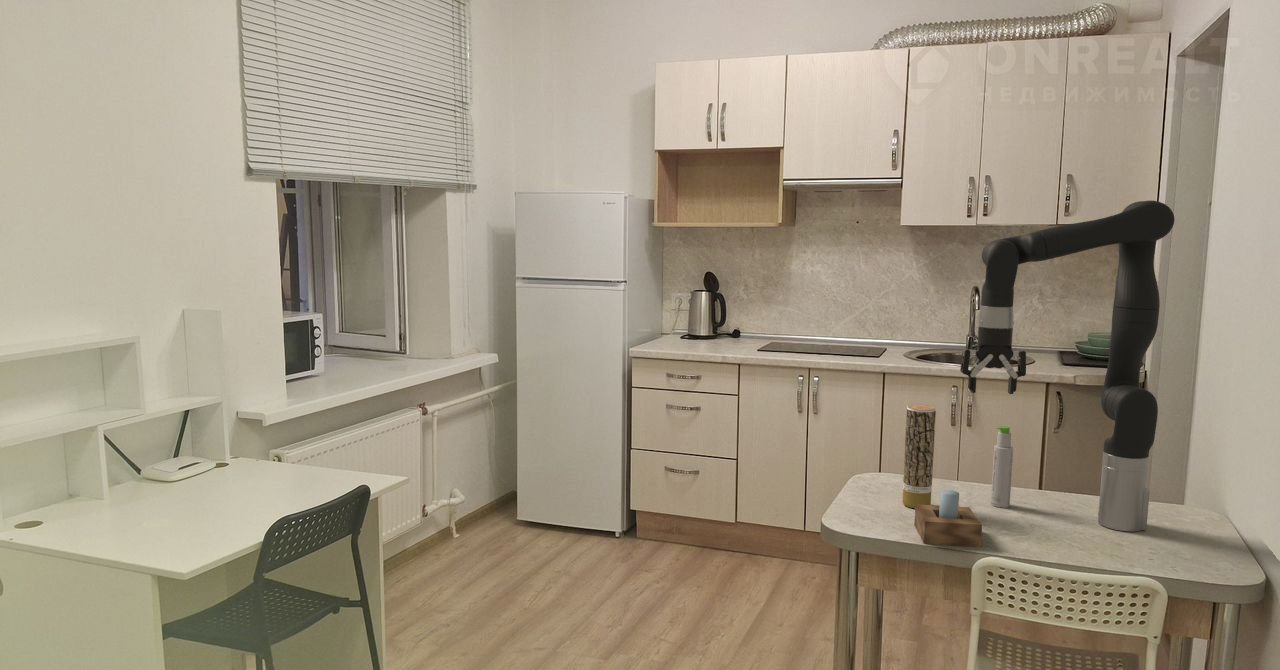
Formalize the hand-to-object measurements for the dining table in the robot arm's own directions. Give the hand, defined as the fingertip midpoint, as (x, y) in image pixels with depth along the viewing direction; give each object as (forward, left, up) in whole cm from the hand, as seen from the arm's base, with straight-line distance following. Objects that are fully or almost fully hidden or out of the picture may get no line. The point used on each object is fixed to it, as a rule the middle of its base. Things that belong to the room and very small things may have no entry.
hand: (991, 393), depth 204 cm
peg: (+12, +16, -30) cm, 36 cm away
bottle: (-6, -9, -30) cm, 32 cm away
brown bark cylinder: (+15, -5, -30) cm, 34 cm away
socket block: (+12, +16, -30) cm, 36 cm away
